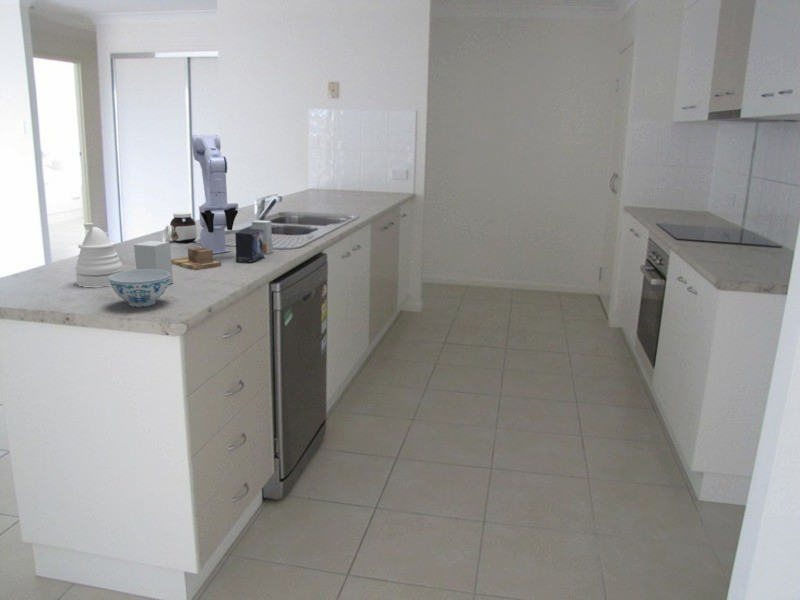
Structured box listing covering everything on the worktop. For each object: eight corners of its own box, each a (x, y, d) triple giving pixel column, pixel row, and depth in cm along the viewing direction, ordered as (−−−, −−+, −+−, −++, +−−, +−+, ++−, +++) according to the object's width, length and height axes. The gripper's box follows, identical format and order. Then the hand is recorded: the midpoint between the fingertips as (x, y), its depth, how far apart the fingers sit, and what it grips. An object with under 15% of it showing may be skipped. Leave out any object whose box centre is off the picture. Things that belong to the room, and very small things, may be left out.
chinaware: (129, 295, 184) (126, 268, 182) (181, 297, 183) (179, 270, 181) (100, 309, 170) (97, 280, 168) (156, 312, 168) (154, 282, 166)
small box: (253, 263, 228) (251, 233, 226) (235, 262, 230) (234, 232, 227) (265, 257, 238) (264, 228, 236) (248, 256, 240) (246, 228, 237)
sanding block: (188, 261, 223) (187, 248, 222) (200, 259, 227) (199, 247, 226) (201, 265, 218) (200, 251, 217) (213, 263, 222) (212, 250, 220)
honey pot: (94, 289, 190) (87, 227, 185) (68, 283, 196) (61, 223, 192) (133, 281, 200) (127, 222, 196) (106, 276, 207) (101, 218, 202)
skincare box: (252, 253, 246) (251, 221, 243) (258, 251, 250) (256, 219, 247) (267, 254, 244) (266, 222, 241) (272, 252, 248) (271, 220, 245)
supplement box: (174, 283, 199) (171, 241, 195) (157, 288, 192) (154, 245, 189) (153, 281, 201) (150, 240, 198) (136, 286, 194) (133, 243, 191)
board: (169, 263, 227) (168, 259, 227) (195, 259, 234) (195, 255, 234) (194, 270, 217) (194, 266, 216) (220, 265, 224) (220, 262, 223)
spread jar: (200, 241, 268) (198, 213, 265) (177, 245, 259) (175, 216, 256) (180, 238, 274) (178, 210, 271) (157, 242, 265) (155, 213, 262)
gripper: (206, 194, 221) (208, 234, 225) (242, 191, 232) (244, 230, 235) (194, 192, 226) (197, 232, 229) (231, 190, 236) (232, 228, 240)
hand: (220, 231), depth 233 cm, fingers open, 7 cm apart
